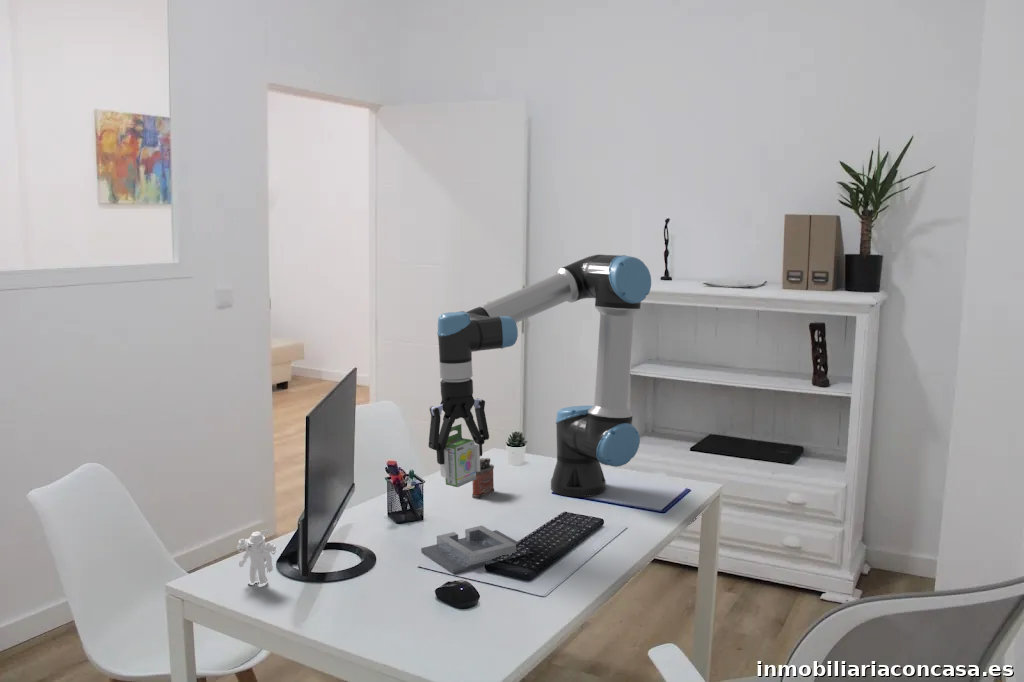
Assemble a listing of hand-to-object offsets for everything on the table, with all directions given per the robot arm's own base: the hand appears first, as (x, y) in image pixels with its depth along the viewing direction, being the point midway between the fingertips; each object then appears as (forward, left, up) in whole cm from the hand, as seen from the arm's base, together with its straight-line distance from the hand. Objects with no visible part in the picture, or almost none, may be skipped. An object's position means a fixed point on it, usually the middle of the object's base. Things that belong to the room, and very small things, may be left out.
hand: (460, 473), depth 210 cm
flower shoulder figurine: (+49, +1, -15) cm, 52 cm away
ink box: (0, 0, -2) cm, 2 cm away
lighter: (-19, -23, -15) cm, 34 cm away
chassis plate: (+4, +12, -15) cm, 20 cm away
